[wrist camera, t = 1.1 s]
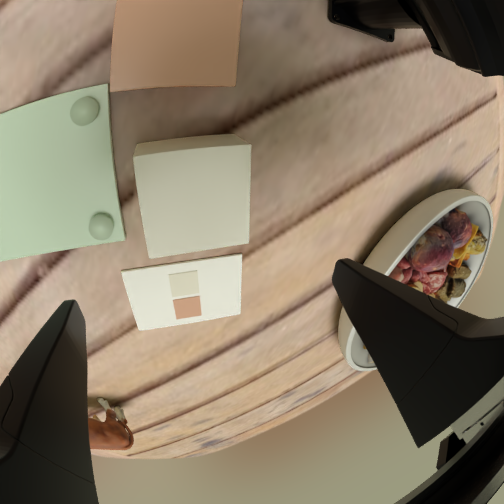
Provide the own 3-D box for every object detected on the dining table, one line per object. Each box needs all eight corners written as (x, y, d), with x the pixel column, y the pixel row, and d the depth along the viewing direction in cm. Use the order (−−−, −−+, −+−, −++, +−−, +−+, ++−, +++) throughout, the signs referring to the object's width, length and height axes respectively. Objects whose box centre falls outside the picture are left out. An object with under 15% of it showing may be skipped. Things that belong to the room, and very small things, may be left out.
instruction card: (241, 253, 24) (242, 255, 23) (239, 312, 27) (240, 314, 27) (121, 270, 21) (121, 272, 20) (139, 329, 24) (139, 331, 24)
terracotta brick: (226, 1, 12) (244, -18, 9) (219, 86, 16) (235, 86, 13) (126, 2, 10) (120, -18, 7) (119, 91, 14) (109, 92, 11)
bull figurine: (36, 389, 25) (32, 442, 18) (128, 397, 30) (135, 453, 24) (45, 404, 27) (43, 453, 20) (130, 410, 32) (137, 461, 26)
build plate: (109, 83, 13) (106, 83, 12) (125, 236, 19) (124, 244, 18) (-48, 137, 9) (-56, 141, 8) (-15, 260, 15) (-20, 269, 14)
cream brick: (233, 133, 18) (251, 144, 15) (233, 216, 22) (249, 243, 19) (137, 143, 16) (132, 156, 13) (148, 229, 20) (149, 259, 17)
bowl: (470, 260, 43) (497, 283, 37) (362, 364, 47) (383, 395, 41) (461, 134, 25) (511, 157, 19) (283, 300, 29) (317, 358, 23)
